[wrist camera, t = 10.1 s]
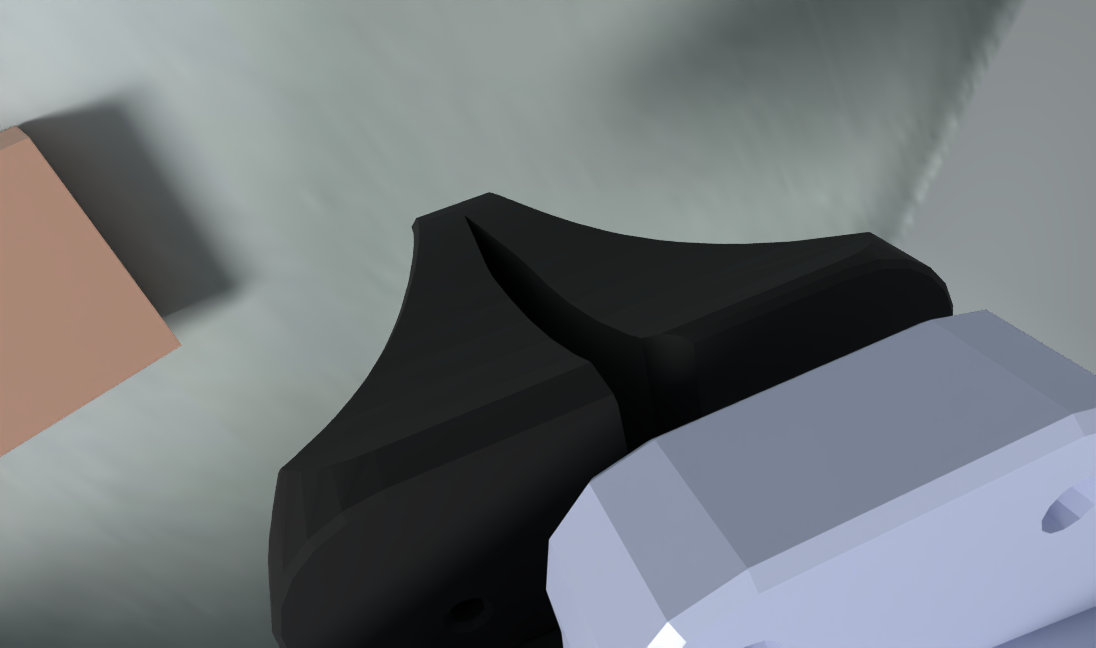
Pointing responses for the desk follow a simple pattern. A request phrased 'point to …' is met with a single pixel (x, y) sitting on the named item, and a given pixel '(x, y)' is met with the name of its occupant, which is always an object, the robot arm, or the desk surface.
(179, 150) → the desk surface
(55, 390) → the domino
